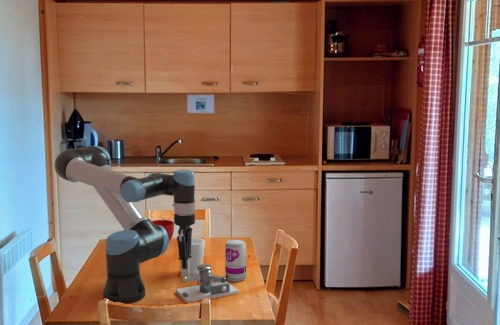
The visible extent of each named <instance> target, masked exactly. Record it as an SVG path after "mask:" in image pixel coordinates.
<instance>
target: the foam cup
mask: <svg viewBox="0 0 500 325" xmlns="http://www.w3.org/2000/svg"><path fill="white" fill-rule="evenodd" d="M205 248H206V242H205V239H203V238H197V237H192V238H191V255H190V256H192V257H191V258H189V269H190V276H191V275H197V274H199V270H197V266H199V265H204V264H203V261H204V254H205Z"/></svg>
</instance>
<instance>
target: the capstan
mask: <svg viewBox="0 0 500 325" xmlns="http://www.w3.org/2000/svg"><path fill="white" fill-rule="evenodd" d="M197 270H199V274H196V275H190V276H186V277H185V276H183V277H180V282H181V283H182V284H186V283H191V282H196V281H198V285H199V286H200V292H203V293H207V292H211V286H212V284H211V283H212V282H221V283H225V282H226V281H227V278H226V277H225V276H222V275H217V274H212V265H210V264H207V263H206V264H205V263H204V264H202V265H199V266H197Z"/></svg>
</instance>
